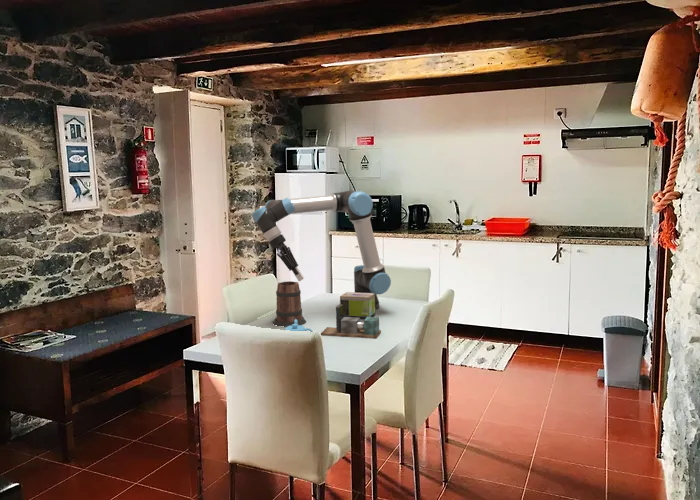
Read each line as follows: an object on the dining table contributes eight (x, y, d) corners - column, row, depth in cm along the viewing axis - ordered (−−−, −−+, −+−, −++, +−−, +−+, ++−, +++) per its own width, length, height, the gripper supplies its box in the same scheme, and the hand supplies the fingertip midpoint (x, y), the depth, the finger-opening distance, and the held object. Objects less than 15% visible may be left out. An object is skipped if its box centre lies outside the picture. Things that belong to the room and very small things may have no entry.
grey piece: (336, 330, 270) (336, 307, 269) (340, 327, 276) (339, 304, 274) (371, 332, 266) (371, 308, 264) (374, 328, 272) (374, 305, 270)
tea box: (375, 322, 291) (375, 292, 289) (369, 327, 281) (369, 297, 279) (346, 319, 296) (346, 291, 293) (340, 325, 286) (339, 295, 284)
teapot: (271, 350, 251) (270, 324, 249) (296, 342, 260) (295, 317, 259) (293, 358, 240) (292, 331, 238) (319, 350, 249) (318, 324, 248)
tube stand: (320, 335, 270) (320, 319, 269) (327, 329, 280) (326, 313, 279) (376, 338, 264) (376, 322, 263) (380, 332, 274) (380, 316, 272)
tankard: (307, 326, 286) (305, 285, 282) (271, 328, 284) (270, 287, 281) (305, 313, 309) (304, 276, 306) (273, 315, 307) (271, 277, 304)
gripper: (273, 239, 286) (299, 280, 286) (263, 244, 273) (291, 287, 274) (285, 231, 284) (311, 273, 284) (276, 235, 271) (304, 279, 272)
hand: (301, 279), depth 279 cm, fingers closed
